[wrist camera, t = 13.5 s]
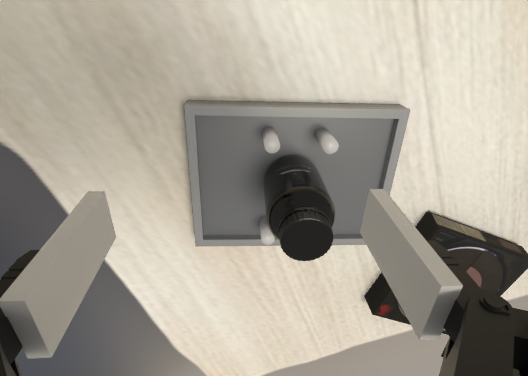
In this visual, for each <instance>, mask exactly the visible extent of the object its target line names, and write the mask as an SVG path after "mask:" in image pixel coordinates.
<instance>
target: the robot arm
mask: <svg viewBox="0 0 528 376" xmlns="http://www.w3.org/2000/svg"><path fill="white" fill-rule="evenodd" d="M360 233H361V235H362V237H363V239H364V241H365V243H366V244H367V246H368V248H369V250H370V252H371V253H372V255H373V257H374V259H375V261H376V262H377V264H378V266H379V268H380V270H381V271H382V273H383V275H384V277H385V279H386V280H387V282H388V284H389V286H390V288H391V290H392V291H393V293H394V295H395V297H396V299H397V300H398V302H399V304H400V306H401V308H402V309H403V311H404V313H405V315H406V317H407V318H408V320H409V322H410V324H411V326H412V327H413V329H414V331H415V333H416V335H417V337H418V338H419V340H426V339H439V337H440V335H441V333H442V331H443V329H445V330H446V332H447V333H448V335H449V336H450V338H449V340H448V343H447V345H446V347H445V349H444V351H443V353H442V355H441V356H442V357H444V358H443V362H442V366H441V370H440V374H439V376H528V311H525V310H520V309H516V308H512V307H511V305H510V304H509V303H508V302H507V301H506V300H505V299H503V298H502V297H500V296H498V295H496V294H494V293H492V292H489V291H485V290H482V289H481V288H480V287H479V286H478V285H477V283H476V282H475V281H474V280H473V279H472V278H471V277H470V275H469V274H468V273H467V272H466V271H465V270H464V269H463V267H462V266H461V265H459V263H458V262H457V261H456V259H455V258H453V256H452V255H451V254H450V253H449V251H448V250H447V249H446V248H445V247H443V246H442V245H440V244H439V243H437V242H436V241H434V240H430V241H426V240H425V239H424V237H423V236H422V235H421V234H420V232H419V231H418V230H417V229H416V228H415V226H414V225H413V224H412V223H411V221H410V220H409V219H408V218H407V217H406V215H405V214H404V213H403V212H402V211H401V209H400V208H399V207H398V206H397V204H396V203H395V202H394V201H393V200H392V198H391V197H390V196H389V195H388V194H387V192H386V191H385V190H384V189H369V193H368V198H367V202H366V207H365V211H364V216H363V221H362V225H361V230H360ZM115 238H116V235H115V231H114V227H113V223H112V219H111V215H110V211H109V207H108V202H107V198H106V194H105V191H102V192H88V193H87V194H86V195H85V196H84V197H83V199H82V200H81V201H80V202H79V204H78V205H77V206H76V207H75V208H74V210H73V211H72V212H71V213H70V214H69V216H68V217H67V218H66V219H65V220H64V222H63V223H62V224H61V226H60V227H59V228H58V229H57V230H56V231H55V233H54V234H53V235H52V236H51V237H50V239H49V240H48V241H47V242H46V243H45V245H44V246H43V247H42V248H41V250H30V251H29V252H27V253H26V254H25V255H23V256H22V257H20V258H19V259H17V260H16V262H15V263H14V264H13V265H12V266H11V267H10V268H9V271H7V272H6V273H5V274H4V275H3V276H2V277H1V280H0V376H22V375H21V372H20V369H19V366H18V364H17V362H16V360H15V358H16V356H17V355H18V353H19V352H20V350H21V349H23V350H24V352H25V354H26V356H27V358H49V357H52V355H53V354H54V352H55V350H56V348H57V346H58V344H59V342H60V340H61V339H62V337H63V335H64V333H65V331H66V329H67V327H68V325H69V324H70V322H71V320H72V318H73V316H74V314H75V313H76V311H77V309H78V307H79V305H80V303H81V301H82V299H83V298H84V296H85V294H86V292H87V290H88V288H89V286H90V284H91V283H92V281H93V279H94V277H95V275H96V273H97V272H98V270H99V268H100V266H101V264H102V262H103V260H104V259H105V257H106V255H107V253H108V251H109V249H110V247H111V246H112V244H113V242H114V240H115Z"/></svg>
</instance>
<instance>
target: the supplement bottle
mask: <svg viewBox="0 0 528 376" xmlns="http://www.w3.org/2000/svg"><path fill="white" fill-rule="evenodd" d="M264 197H265V209H266V220H267V225H268V228H269V230H270V232H271V233H272V234H273V236H274V237H275V238H277V239H278V240H279V241H280V244H281V248H282V249H283V252H285V253H286V255H288V256H289V257H290V258H293V259H295V260H299V261H301V260H302V261H310V260H315V259H316V258H319V257H320V256H323V255H324V254H325V253H327V251H328V250H329V249H330V247H331V246H332V242H333V237H334V235H333V230H332V226H333V224H334V221H335V208H334V205H333V202H332V200H331V197H330V195H329V193H328V191H327V189H326V186H325V184H324V182H323V180H322V178H321V175H320V173H319V171H318V169H317V168H316V166H315V165H314V164H313V163H312V162H311V161H309V160H308V159H306V158H303V157H300V156H287V157H283V158H281V159H279V160H277V161H275V162H274V163H273V164H272V165H271V166H270V167H269V168H268V170H267V172H266V174H265V177H264Z"/></svg>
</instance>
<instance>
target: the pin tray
mask: <svg viewBox="0 0 528 376" xmlns="http://www.w3.org/2000/svg"><path fill="white" fill-rule="evenodd" d="M184 111H185V123H186V135H187V147H188V159H189V172H190V184H191V196H192V208H193V220H194V233H195V245H196V246H281V244H280V241H279V240H278V239H277V238H275V237H274V236H273V234H272V233H271V232H270V230H269V228H268V225H267V220H266V209H265V197H264V177H265V174H266V172H267V170H268V168H269V167H270V166H271V165H272V164H273V163H274V162H275V161H277V160H279V159H281V158H283V157H287V156H300V157H303V158H306V159H308V160H309V161H311V162H312V163H313V164H314V165H315V166H316V168H317V169H318V171H319V173H320V175H321V178H322V180H323V182H324V184H325V186H326V189H327V191H328V193H329V195H330V197H331V200H332V202H333V205H334V208H335V221H334V224H333V226H332V230H333V235H334V237H333V242H332V245H367V244H366V243H365V241H364V239H363V237H362V235H361V233H360V230H361V225H362V221H363V216H364V211H365V207H366V202H367V198H368V193H369V189H384V190H385V191H386V192H387V194H388V195H390V191H391V187H392V183H393V179H394V175H395V171H396V166H397V162H398V158H399V154H400V150H401V146H402V142H403V138H404V133H405V129H406V125H407V121H408V117H409V113H410V109H408V108H406V107H404V106H402V105H400V104H351V103H302V102H253V101H204V100H188V101H187V102H186V103H185V105H184Z"/></svg>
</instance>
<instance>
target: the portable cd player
mask: <svg viewBox="0 0 528 376" xmlns="http://www.w3.org/2000/svg"><path fill="white" fill-rule="evenodd" d="M415 228H416V229H417V230H418V231H419V232H420V234H421V235H422V236H423V237H424V239H425V240H426V241H430V240H434V241H436V242H437V243H439V244H440V245H442V246H443V247H445V248H446V249H447V250H448V251H449V253H450V254H451V255H452V256H453V258H455V259H456V261H457V262H458V263H459V265H461V266H462V267H463V269H464V270H465V271H466V272H467V273H468V274H469V275H470V277H471V278H472V279H473V280H474V281H475V282H476V283H477V285H478V286H479V287H480V288H481V289H482V290H485V291H489V292H492V293H494V294H496V295H498V296H501V295H502V294H503V293H504V292H505V291H506V290H507V289H508V288H509V287H510V286H511V285H512V284H513V283H514V282H515V281H516V280H517V279H518V278H519V277H520V276H521V275H522V274H523V273H524V272H525V271H526V270H527V269H528V254H527V252H526V251H525V250H524V248H523V247H522V246H519V245H517V244H514V243H511V242H509V241H506V240H503V239H500V238H498V237H495V236H492V235H490V234H487V233H484V232H482V231H479V230H476V229H473V228H471V227H468V226H465V225H463V224H460V223H457V222H454V221H452V220H449V219H446V218H444V217H441V216H438V215H436V214H433V213H429V212H426V213H425V215H424V216H423V217H422V219H421V220H420V221H419V223H418V224H417V226H416V227H415ZM364 297H365V299H366V301H367V303H368V306H369V308H370V310H371V312H372V314H373V315H376V316H380V317H384V318H388V319H391V320H395V321H399V322H403V323H406V324H410V322H409V320H408V318H407V317H406V315H405V313H404V311H403V309H402V308H401V306H400V304H399V302H398V300H397V299H396V297H395V295H394V293H393V291H392V290H391V288H390V286H389V284H388V282H387V280H386V279H385V277H384V275H383V273H381V274H380V276H379V277H378V278H377V280H376V281H375V283H374V284H373V285H372V287H371V288H370V289H369V291H368V292H367V293H366V295H365V296H364ZM410 325H411V324H410ZM442 333H444V334H447V335H448V333H447V332H446V330H445V329H443V331H442Z"/></svg>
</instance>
